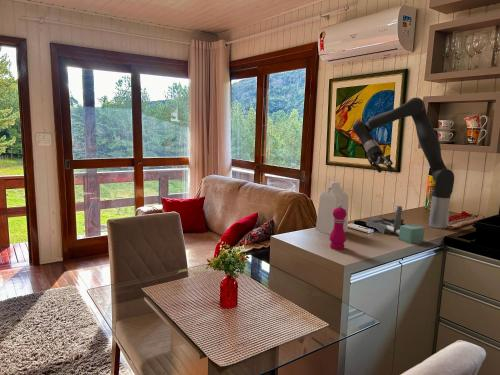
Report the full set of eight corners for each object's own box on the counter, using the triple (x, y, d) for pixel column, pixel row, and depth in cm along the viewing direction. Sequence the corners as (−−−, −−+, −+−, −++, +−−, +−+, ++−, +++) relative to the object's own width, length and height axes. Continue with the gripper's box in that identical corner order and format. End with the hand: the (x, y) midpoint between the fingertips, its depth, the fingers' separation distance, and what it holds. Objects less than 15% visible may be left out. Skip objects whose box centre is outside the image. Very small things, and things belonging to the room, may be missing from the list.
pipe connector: (389, 214, 211) (412, 220, 199) (388, 223, 212) (411, 230, 200) (376, 217, 205) (399, 223, 193) (375, 226, 206) (398, 233, 193)
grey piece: (388, 229, 194) (390, 203, 192) (416, 239, 179) (419, 211, 176) (383, 230, 193) (386, 204, 191) (412, 239, 177) (415, 211, 175)
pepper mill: (326, 245, 169) (329, 202, 165) (342, 245, 169) (345, 202, 166) (331, 250, 161) (334, 206, 158) (347, 250, 162) (351, 206, 159)
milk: (329, 226, 200) (332, 179, 196) (347, 231, 192) (351, 182, 188) (315, 230, 193) (318, 181, 188) (333, 235, 184) (337, 184, 180)
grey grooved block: (377, 226, 205) (377, 217, 204) (395, 232, 193) (396, 222, 192) (366, 227, 201) (366, 218, 200) (384, 233, 190) (385, 224, 189)
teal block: (411, 237, 185) (413, 224, 184) (423, 241, 179) (424, 227, 177) (398, 239, 181) (400, 225, 180) (410, 243, 175) (411, 229, 173)
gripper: (367, 144, 203) (380, 167, 195) (386, 145, 209) (400, 167, 201) (359, 153, 209) (372, 176, 200) (378, 153, 215) (391, 175, 207)
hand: (386, 171), depth 201 cm, fingers open, 8 cm apart
